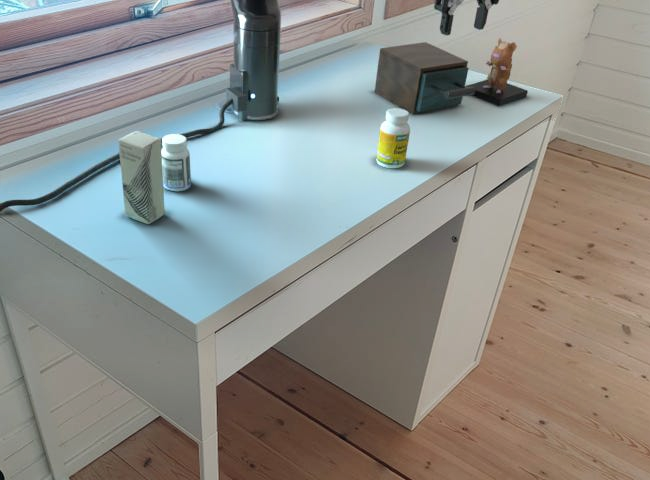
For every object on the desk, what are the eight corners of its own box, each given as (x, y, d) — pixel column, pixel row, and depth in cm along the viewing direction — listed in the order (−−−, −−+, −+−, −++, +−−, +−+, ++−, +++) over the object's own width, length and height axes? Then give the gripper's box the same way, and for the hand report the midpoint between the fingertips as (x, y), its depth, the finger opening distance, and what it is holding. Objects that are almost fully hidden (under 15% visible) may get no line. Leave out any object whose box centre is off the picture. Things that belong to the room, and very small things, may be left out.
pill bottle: (177, 176, 120) (174, 130, 115) (196, 185, 118) (194, 138, 113) (157, 185, 117) (153, 138, 112) (177, 194, 115) (174, 147, 110)
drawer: (478, 113, 146) (486, 76, 141) (435, 121, 141) (443, 83, 136) (423, 84, 158) (429, 49, 153) (382, 91, 154) (387, 55, 149)
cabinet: (458, 106, 151) (468, 61, 145) (412, 114, 146) (420, 68, 140) (418, 85, 161) (425, 41, 154) (374, 92, 156) (380, 48, 150)
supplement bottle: (388, 154, 130) (395, 104, 124) (410, 163, 128) (419, 112, 121) (370, 162, 128) (376, 111, 121) (392, 171, 125) (400, 120, 118)
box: (124, 216, 109) (115, 138, 101) (141, 205, 112) (134, 129, 103) (150, 226, 107) (143, 147, 99) (167, 214, 110) (162, 137, 101)
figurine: (463, 92, 158) (475, 37, 150) (490, 84, 163) (503, 30, 155) (499, 106, 152) (513, 49, 144) (526, 97, 157) (541, 41, 149)
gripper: (494, -70, 130) (476, 22, 140) (435, -64, 125) (421, 31, 135) (522, -63, 125) (502, 32, 136) (462, -57, 120) (446, 41, 130)
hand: (461, 31), depth 135 cm, fingers open, 8 cm apart
